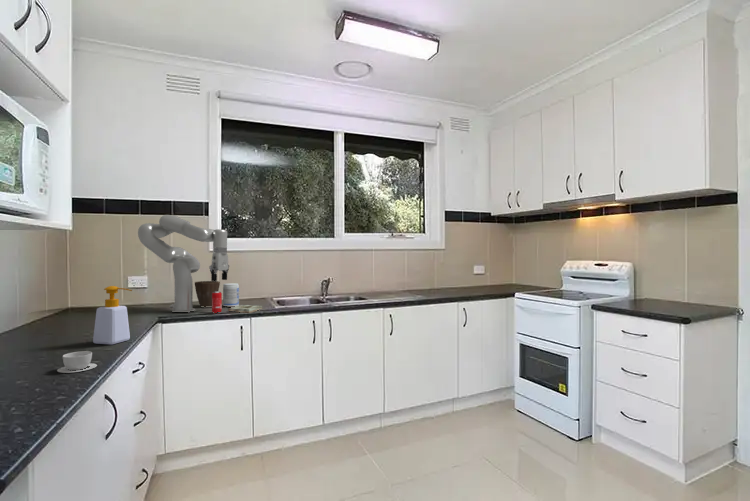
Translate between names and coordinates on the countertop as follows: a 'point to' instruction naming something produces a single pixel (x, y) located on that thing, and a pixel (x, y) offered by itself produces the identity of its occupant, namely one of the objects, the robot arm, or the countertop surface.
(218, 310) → the beverage can
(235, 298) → the supplement tub
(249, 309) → the base plate
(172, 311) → the robot arm
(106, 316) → the soap bottle
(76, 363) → the teacup
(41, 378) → the countertop surface
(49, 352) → the countertop surface
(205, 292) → the plant pot
